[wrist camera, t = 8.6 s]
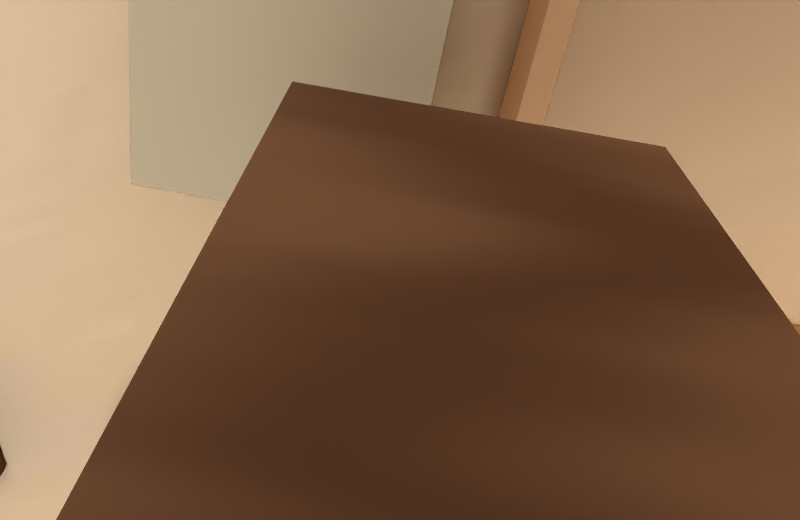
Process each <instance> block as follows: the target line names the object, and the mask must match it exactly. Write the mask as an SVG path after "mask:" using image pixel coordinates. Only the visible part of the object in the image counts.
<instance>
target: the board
mask: <svg viewBox="0 0 800 520" xmlns="http://www.w3.org/2000/svg"><path fill="white" fill-rule="evenodd" d="M453 1H454V0H128V13H129V84H130V156H131V184H132V185H137V186H143V187H148V188H154V189H159V190H165V191H171V192H176V193H182V194H187V195H193V196H198V197H204V198H210V199H215V200H221V201H226V202H228V200H229V198H230V196H231V194H232V192H233V191H234V189H235V187H236V185H237V183H238V181H239V179H240V178H241V176H242V174H243V172H244V170H245V168H246V166H247V165H248V163H249V161H250V159H251V157H252V155H253V153H254V152H255V150H256V148H257V146H258V144H259V142H260V140H261V139H262V137H263V135H264V133H265V131H266V129H267V127H268V126H269V124H270V122H271V120H272V118H273V116H274V114H275V113H276V111H277V109H278V107H279V105H280V103H281V101H282V100H283V98H284V96H285V94H286V92H287V90H288V88H289V87H290V85H291V83H292V81H293V82H299V83H305V84H310V85H316V86H322V87H328V88H333V89H339V90H345V91H350V92H356V93H362V94H367V95H373V96H379V97H384V98H390V99H396V100H401V101H407V102H413V103H418V104H424V105H430V106H431V104H432V99H433V94H434V90H435V85H436V80H437V76H438V71H439V66H440V62H441V57H442V52H443V47H444V43H445V38H446V33H447V29H448V24H449V19H450V15H451V10H452V5H453Z"/></svg>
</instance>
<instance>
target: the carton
mask: <svg viewBox="0 0 800 520" xmlns="http://www.w3.org/2000/svg"><path fill="white" fill-rule="evenodd" d="M580 1H581V0H530V1H529V5H528V9H527V13H526V16H525V20H524V24H523V28H522V32H521V35H520V39H519V43H518V47H517V50H516V54H515V58H514V62H513V65H512V69H511V73H510V77H509V80H508V84H507V88H506V92H505V95H504V99H503V103H502V107H501V110H500V114H499V118H503V119H509V120H515V121H520V122H526V123H532V124H537V125H543V123H544V120H545V117H546V113H547V110H548V107H549V103H550V100H551V97H552V94H553V90H554V87H555V84H556V80H557V77H558V74H559V70H560V67H561V64H562V60H563V57H564V54H565V50H566V47H567V44H568V40H569V37H570V34H571V31H572V27H573V24H574V21H575V17H576V14H577V11H578V7H579V4H580ZM792 325H793V324H792ZM793 326H794V328H795V329H796V331H797V332H798V333H799V335H800V326H798V325H793Z"/></svg>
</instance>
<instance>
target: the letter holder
mask: <svg viewBox="0 0 800 520" xmlns="http://www.w3.org/2000/svg"><path fill="white" fill-rule="evenodd" d="M5 467H6V463H5V461H4V459H3V456H2V453H1V450H0V476H1V474H2V473H3V471H4V470H5Z"/></svg>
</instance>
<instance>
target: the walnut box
mask: <svg viewBox="0 0 800 520" xmlns="http://www.w3.org/2000/svg"><path fill="white" fill-rule="evenodd" d="M56 520H800V335H799V333H798V332H797V331H796V329H795V328H794V326H793V325H792V324H791V322H790V321H789V319H788V318H787V317H786V315H785V314H784V312H783V311H782V310H781V308H780V307H779V305H778V304H777V303H776V301H775V300H774V298H773V297H772V296H771V294H770V293H769V292H768V290H767V289H766V287H765V286H764V285H763V283H762V282H761V280H760V279H759V278H758V276H757V275H756V273H755V272H754V271H753V269H752V268H751V266H750V265H749V264H748V262H747V261H746V259H745V258H744V257H743V255H742V254H741V252H740V251H739V250H738V248H737V247H736V245H735V244H734V243H733V241H732V240H731V238H730V237H729V236H728V234H727V233H726V231H725V230H724V229H723V227H722V226H721V224H720V223H719V222H718V220H717V219H716V217H715V216H714V215H713V213H712V212H711V210H710V209H709V208H708V206H707V205H706V203H705V202H704V201H703V199H702V198H701V196H700V195H699V194H698V192H697V191H696V190H695V188H694V187H693V185H692V184H691V183H690V181H689V180H688V178H687V177H686V176H685V174H684V173H683V171H682V170H681V169H680V167H679V166H678V164H677V163H676V162H675V160H674V159H673V157H672V156H671V155H670V153H669V152H668V150H667V149H666V148H665V147H662V146H656V145H651V144H645V143H639V142H634V141H628V140H622V139H617V138H611V137H605V136H600V135H594V134H588V133H583V132H577V131H571V130H566V129H560V128H554V127H549V126H543V125H537V124H532V123H526V122H520V121H515V120H509V119H503V118H498V117H492V116H486V115H481V114H475V113H469V112H464V111H458V110H452V109H447V108H441V107H435V106H430V105H424V104H418V103H413V102H407V101H401V100H396V99H390V98H384V97H379V96H373V95H367V94H362V93H356V92H350V91H345V90H339V89H333V88H328V87H322V86H316V85H310V84H305V83H299V82H293V81H292V83H291V85H290V87H289V88H288V90H287V92H286V94H285V96H284V98H283V100H282V101H281V103H280V105H279V107H278V109H277V111H276V113H275V114H274V116H273V118H272V120H271V122H270V124H269V126H268V127H267V129H266V131H265V133H264V135H263V137H262V139H261V140H260V142H259V144H258V146H257V148H256V150H255V152H254V153H253V155H252V157H251V159H250V161H249V163H248V165H247V166H246V168H245V170H244V172H243V174H242V176H241V178H240V179H239V181H238V183H237V185H236V187H235V189H234V191H233V192H232V194H231V196H230V198H229V200H228V202H227V204H226V205H225V207H224V209H223V211H222V213H221V215H220V217H219V218H218V220H217V222H216V224H215V226H214V228H213V230H212V231H211V233H210V235H209V237H208V239H207V241H206V243H205V244H204V246H203V248H202V250H201V252H200V254H199V256H198V257H197V259H196V261H195V263H194V265H193V267H192V269H191V270H190V272H189V274H188V276H187V278H186V280H185V282H184V283H183V285H182V287H181V289H180V291H179V293H178V295H177V296H176V298H175V300H174V302H173V304H172V306H171V308H170V309H169V311H168V313H167V315H166V317H165V319H164V321H163V322H162V324H161V326H160V328H159V330H158V332H157V334H156V335H155V337H154V339H153V341H152V343H151V345H150V347H149V348H148V350H147V352H146V354H145V356H144V358H143V360H142V361H141V363H140V365H139V367H138V369H137V371H136V373H135V374H134V376H133V378H132V380H131V382H130V384H129V386H128V387H127V389H126V391H125V393H124V395H123V397H122V399H121V400H120V402H119V404H118V406H117V408H116V410H115V412H114V413H113V415H112V417H111V419H110V421H109V423H108V425H107V426H106V428H105V430H104V432H103V434H102V436H101V438H100V439H99V441H98V443H97V445H96V447H95V449H94V451H93V452H92V454H91V456H90V458H89V460H88V462H87V464H86V465H85V467H84V469H83V471H82V473H81V475H80V477H79V478H78V480H77V482H76V484H75V486H74V488H73V490H72V491H71V493H70V495H69V497H68V499H67V501H66V503H65V504H64V506H63V508H62V510H61V512H60V514H59V516H58V517H57V519H56Z"/></svg>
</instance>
